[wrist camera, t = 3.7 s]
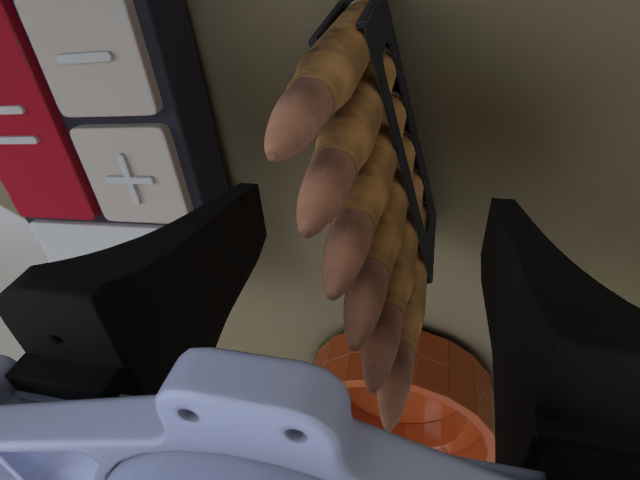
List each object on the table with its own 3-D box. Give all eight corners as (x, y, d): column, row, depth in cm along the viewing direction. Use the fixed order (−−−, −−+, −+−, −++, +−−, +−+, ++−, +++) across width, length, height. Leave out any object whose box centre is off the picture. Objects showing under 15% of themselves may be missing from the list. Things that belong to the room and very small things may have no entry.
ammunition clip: (437, 218, 22) (427, 450, 13) (400, 224, 23) (366, 447, 13) (383, -15, 16) (298, 95, 7) (337, 1, 17) (206, 121, 8)
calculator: (121, -38, 15) (221, 303, 23) (183, -44, 18) (250, 255, 26) (-119, -9, 17) (47, 287, 26) (-25, -18, 21) (95, 245, 29)
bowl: (508, 333, 26) (517, 401, 22) (477, 442, 33) (481, 506, 29) (308, 308, 28) (288, 365, 25) (320, 414, 35) (306, 470, 32)
